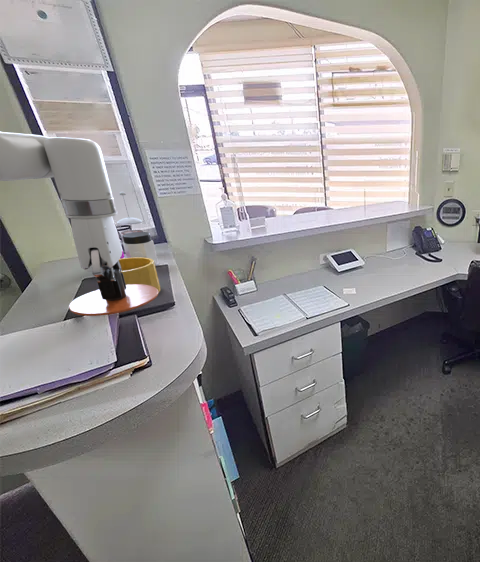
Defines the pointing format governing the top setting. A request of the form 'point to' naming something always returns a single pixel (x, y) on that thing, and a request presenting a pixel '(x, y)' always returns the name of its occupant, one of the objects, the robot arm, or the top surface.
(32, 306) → the top surface
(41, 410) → the top surface
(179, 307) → the top surface
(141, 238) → the jar
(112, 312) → the lid
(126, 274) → the tin
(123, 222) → the french press
